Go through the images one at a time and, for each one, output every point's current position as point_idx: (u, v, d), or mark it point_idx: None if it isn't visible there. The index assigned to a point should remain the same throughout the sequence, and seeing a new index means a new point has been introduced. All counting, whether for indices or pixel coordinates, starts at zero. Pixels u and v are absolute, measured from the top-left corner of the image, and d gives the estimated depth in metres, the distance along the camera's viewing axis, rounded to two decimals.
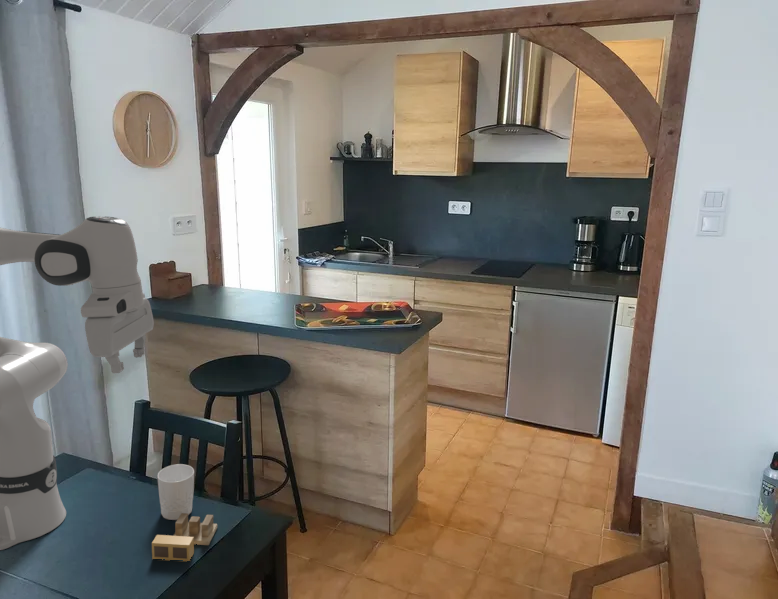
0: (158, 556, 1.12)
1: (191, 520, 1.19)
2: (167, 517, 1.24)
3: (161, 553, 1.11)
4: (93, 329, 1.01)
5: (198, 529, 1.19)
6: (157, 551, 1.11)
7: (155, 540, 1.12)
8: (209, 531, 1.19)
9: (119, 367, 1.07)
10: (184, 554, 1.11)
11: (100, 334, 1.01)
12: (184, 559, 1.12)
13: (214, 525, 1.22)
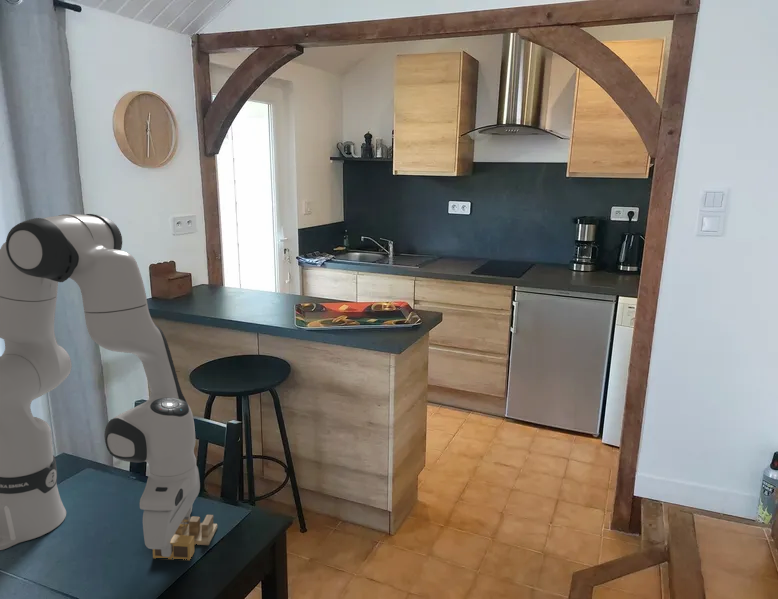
0: (159, 555, 1.12)
1: (191, 520, 1.19)
2: None
3: None
4: (151, 523, 1.01)
5: (198, 529, 1.19)
6: (157, 550, 1.12)
7: None
8: (209, 531, 1.19)
9: (170, 552, 1.07)
10: (185, 553, 1.12)
11: (158, 529, 1.01)
12: (185, 558, 1.12)
13: (214, 525, 1.22)
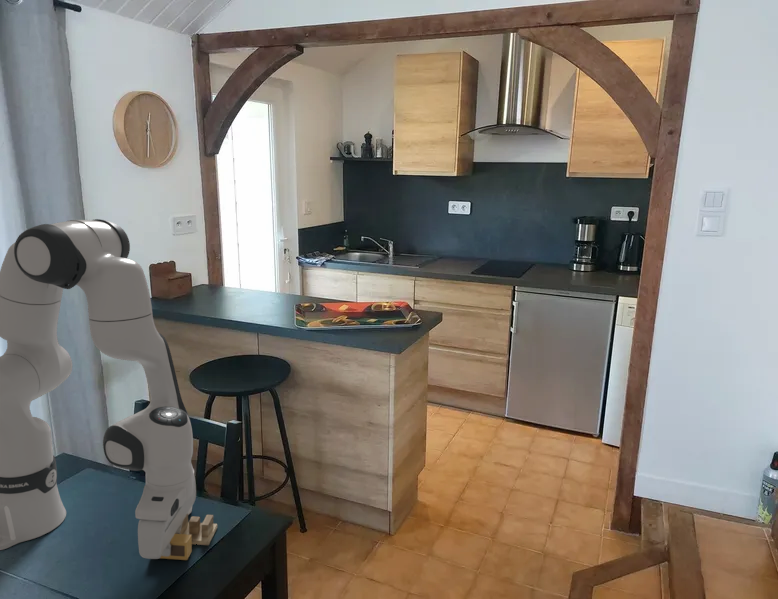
0: None
1: (191, 520, 1.19)
2: None
3: None
4: (146, 533, 1.01)
5: (198, 529, 1.19)
6: None
7: None
8: (209, 531, 1.19)
9: (169, 551, 1.10)
10: (182, 552, 1.11)
11: (152, 539, 1.01)
12: (182, 557, 1.12)
13: (214, 525, 1.22)
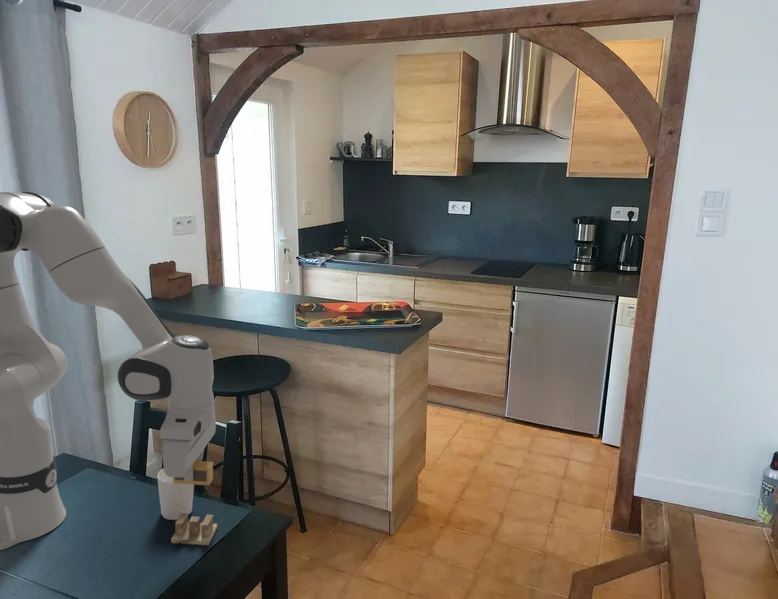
0: (179, 479, 1.15)
1: (191, 520, 1.19)
2: (167, 517, 1.24)
3: None
4: (170, 452, 1.05)
5: (198, 529, 1.19)
6: None
7: None
8: (209, 531, 1.19)
9: (192, 476, 1.13)
10: (204, 477, 1.15)
11: (177, 457, 1.05)
12: (204, 482, 1.15)
13: (214, 525, 1.22)
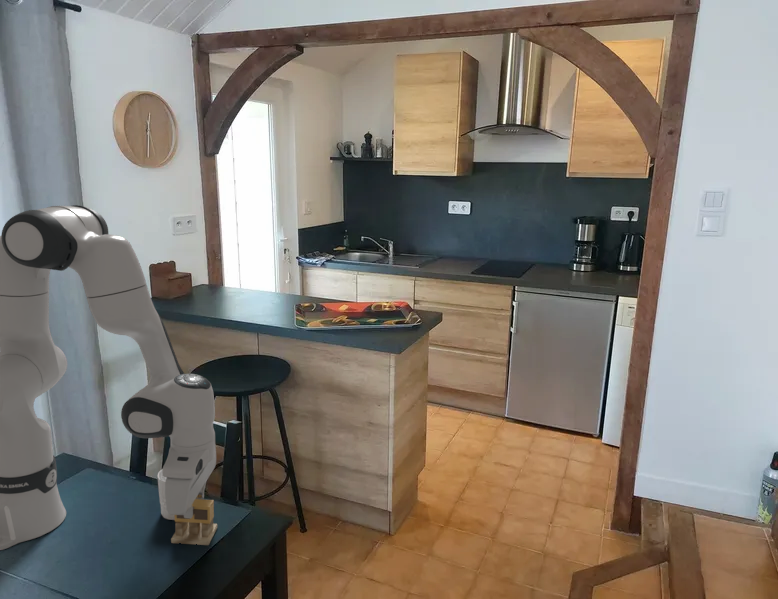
0: (180, 517, 1.17)
1: None
2: (167, 517, 1.24)
3: None
4: (172, 490, 1.07)
5: (198, 529, 1.19)
6: None
7: None
8: (209, 531, 1.19)
9: (191, 514, 1.15)
10: (205, 516, 1.17)
11: (179, 496, 1.07)
12: (205, 520, 1.18)
13: (214, 525, 1.22)
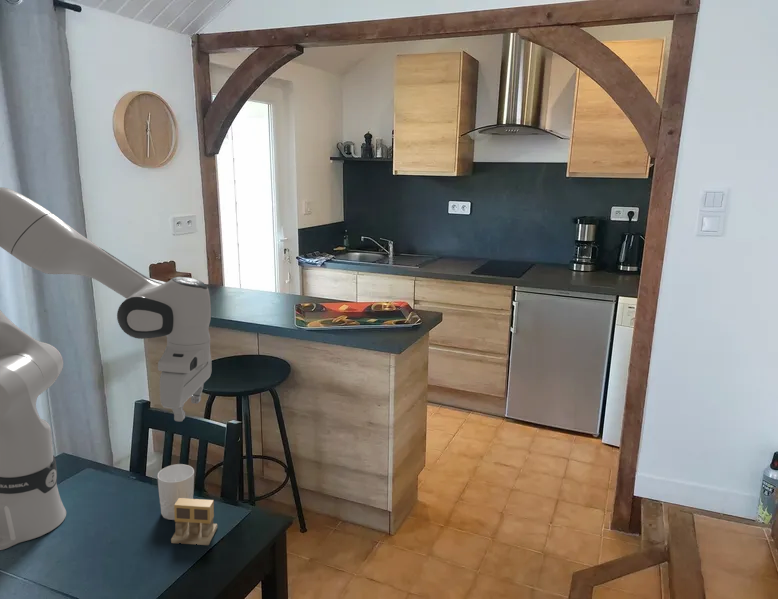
0: (180, 517, 1.17)
1: None
2: (167, 517, 1.24)
3: (183, 514, 1.17)
4: (167, 383, 1.10)
5: (198, 529, 1.19)
6: (179, 513, 1.17)
7: (177, 502, 1.18)
8: (209, 531, 1.19)
9: (182, 416, 1.16)
10: (205, 516, 1.17)
11: (173, 389, 1.10)
12: (205, 520, 1.18)
13: (214, 525, 1.22)
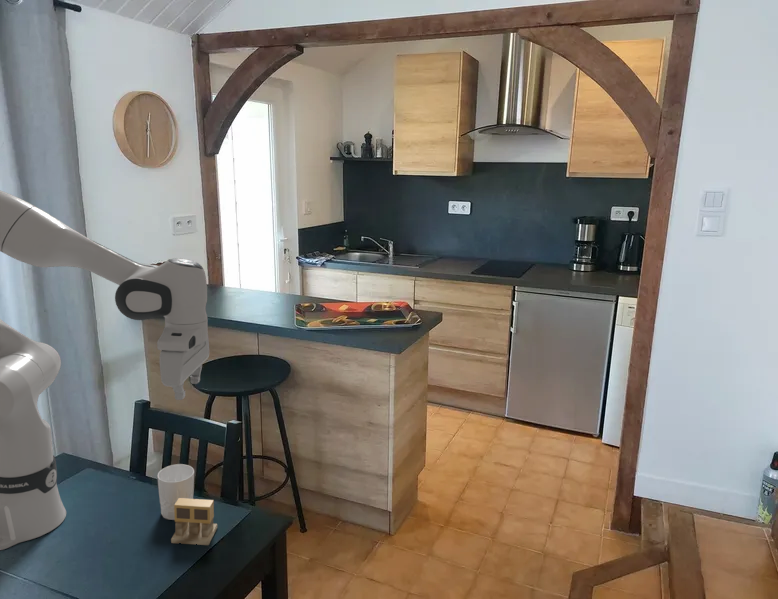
0: (180, 517, 1.17)
1: None
2: (167, 517, 1.24)
3: (183, 514, 1.17)
4: (167, 361, 1.13)
5: (198, 529, 1.19)
6: (179, 513, 1.17)
7: (177, 502, 1.18)
8: (209, 531, 1.19)
9: (182, 395, 1.19)
10: (205, 516, 1.17)
11: (173, 367, 1.13)
12: (205, 520, 1.18)
13: (214, 525, 1.22)
